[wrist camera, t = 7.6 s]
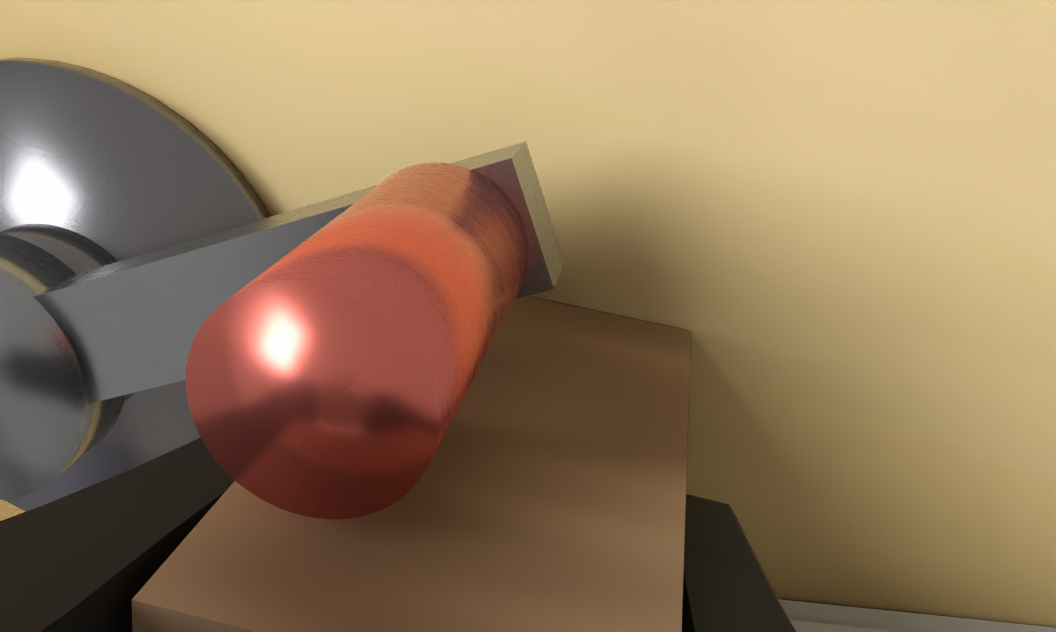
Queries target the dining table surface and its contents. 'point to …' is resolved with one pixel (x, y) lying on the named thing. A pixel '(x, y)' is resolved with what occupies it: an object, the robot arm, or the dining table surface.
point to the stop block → (481, 507)
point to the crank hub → (110, 215)
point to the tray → (887, 620)
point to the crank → (284, 334)
